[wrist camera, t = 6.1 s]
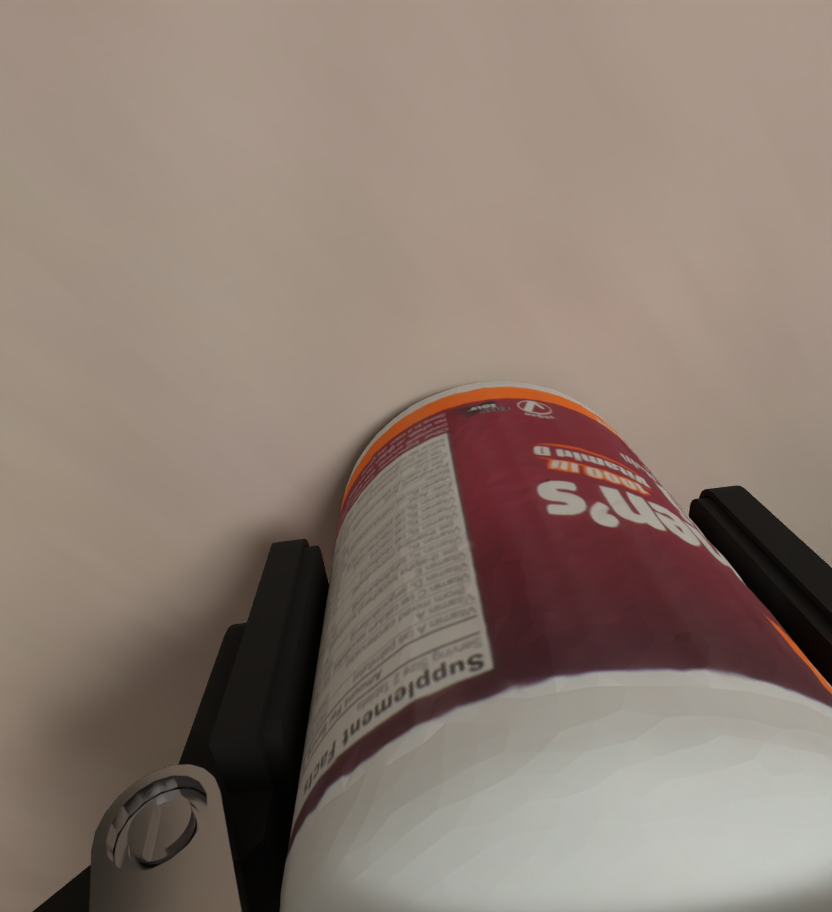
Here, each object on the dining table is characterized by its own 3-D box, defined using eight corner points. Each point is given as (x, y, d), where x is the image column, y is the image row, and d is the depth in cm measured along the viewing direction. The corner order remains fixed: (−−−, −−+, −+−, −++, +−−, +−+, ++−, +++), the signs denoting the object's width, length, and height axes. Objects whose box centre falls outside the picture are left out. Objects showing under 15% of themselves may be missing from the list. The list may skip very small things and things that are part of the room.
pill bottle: (691, 472, 12) (2037, 1831, 2) (510, 661, 15) (791, 1807, 4) (450, 308, 11) (1491, 2686, 1) (286, 548, 13) (-107, 1982, 3)
